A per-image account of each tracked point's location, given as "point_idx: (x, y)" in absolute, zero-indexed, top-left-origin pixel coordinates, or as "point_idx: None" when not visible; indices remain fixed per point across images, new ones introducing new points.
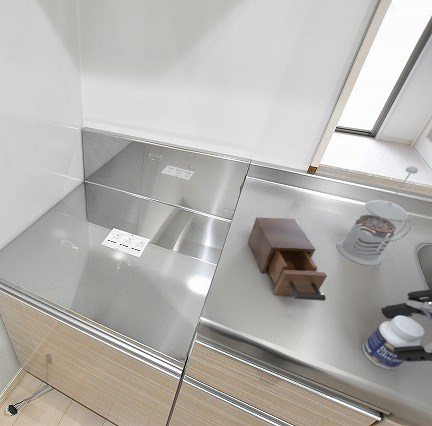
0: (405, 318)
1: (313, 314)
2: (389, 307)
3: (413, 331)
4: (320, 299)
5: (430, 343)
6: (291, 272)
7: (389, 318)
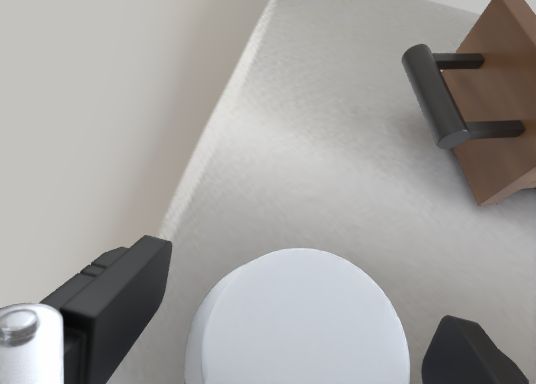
0: (383, 359)
1: (394, 191)
2: (493, 348)
3: (247, 348)
4: (433, 124)
5: (57, 360)
6: (519, 9)
7: (424, 380)
